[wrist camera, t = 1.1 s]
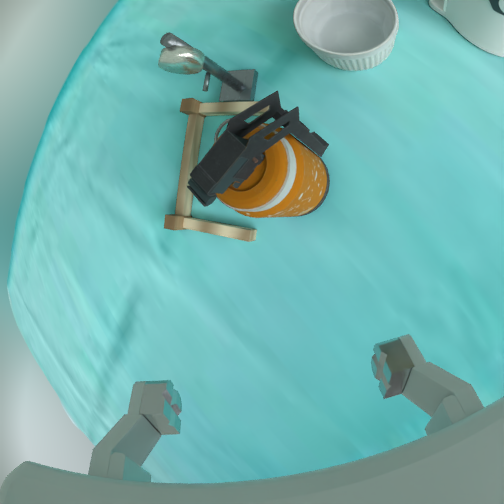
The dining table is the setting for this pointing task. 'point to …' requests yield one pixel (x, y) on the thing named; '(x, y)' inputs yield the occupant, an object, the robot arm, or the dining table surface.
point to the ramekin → (348, 31)
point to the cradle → (189, 161)
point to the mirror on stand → (193, 61)
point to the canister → (264, 165)
